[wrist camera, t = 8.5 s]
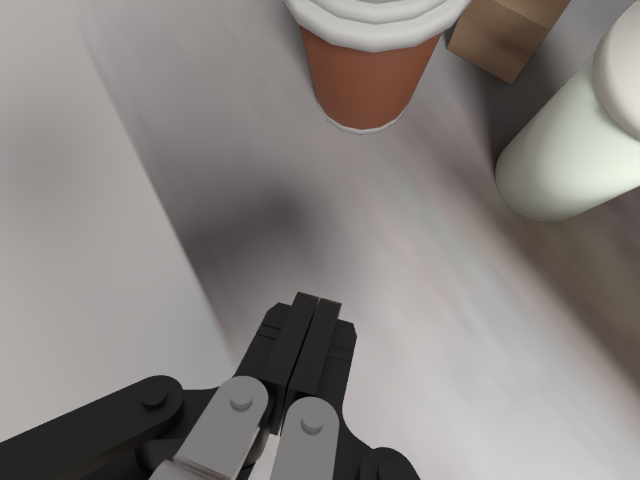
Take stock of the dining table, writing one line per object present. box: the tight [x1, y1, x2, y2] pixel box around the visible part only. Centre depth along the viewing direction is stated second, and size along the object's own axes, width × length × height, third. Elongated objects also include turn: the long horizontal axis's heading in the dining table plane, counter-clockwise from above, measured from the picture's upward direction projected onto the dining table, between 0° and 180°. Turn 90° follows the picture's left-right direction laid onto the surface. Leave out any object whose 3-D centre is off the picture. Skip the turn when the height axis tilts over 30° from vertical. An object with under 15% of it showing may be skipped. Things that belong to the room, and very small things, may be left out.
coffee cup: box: [282, 0, 472, 135], centre depth 20 cm, size 9×9×12 cm
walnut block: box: [447, 0, 571, 85], centre depth 24 cm, size 5×5×5 cm
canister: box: [495, 0, 640, 223], centre depth 19 cm, size 6×6×11 cm
